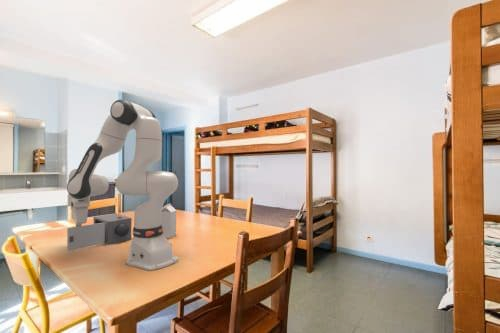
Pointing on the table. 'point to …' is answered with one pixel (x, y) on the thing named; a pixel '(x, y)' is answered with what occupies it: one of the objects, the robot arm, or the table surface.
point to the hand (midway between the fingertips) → (78, 229)
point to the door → (86, 235)
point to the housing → (115, 227)
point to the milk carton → (168, 221)
